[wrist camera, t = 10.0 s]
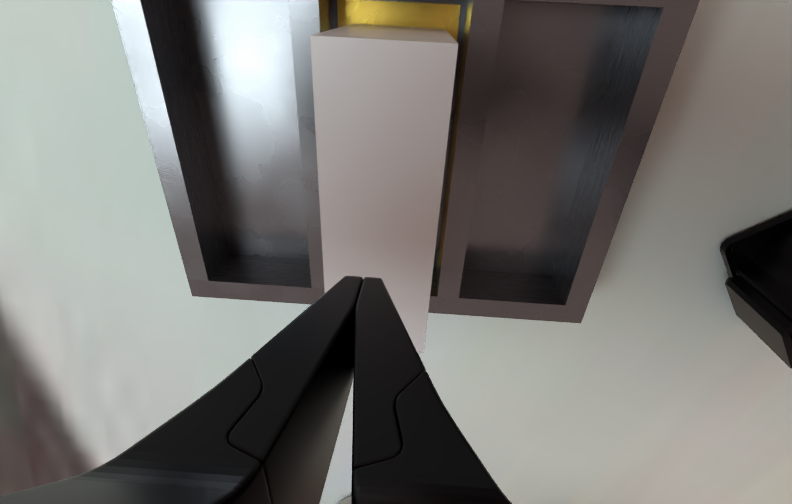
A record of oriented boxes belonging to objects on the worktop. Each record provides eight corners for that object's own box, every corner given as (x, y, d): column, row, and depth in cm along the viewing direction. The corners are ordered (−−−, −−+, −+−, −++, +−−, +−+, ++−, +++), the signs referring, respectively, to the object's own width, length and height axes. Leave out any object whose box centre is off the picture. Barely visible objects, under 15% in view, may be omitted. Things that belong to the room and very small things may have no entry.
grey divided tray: (662, -34, 15) (714, -42, 12) (561, 285, 22) (580, 323, 20) (148, -58, 15) (91, -71, 13) (219, 262, 23) (192, 295, 20)
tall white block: (353, 23, 16) (309, 35, 10) (444, 28, 16) (458, 43, 10) (355, 247, 21) (327, 345, 15) (423, 252, 21) (423, 352, 15)
